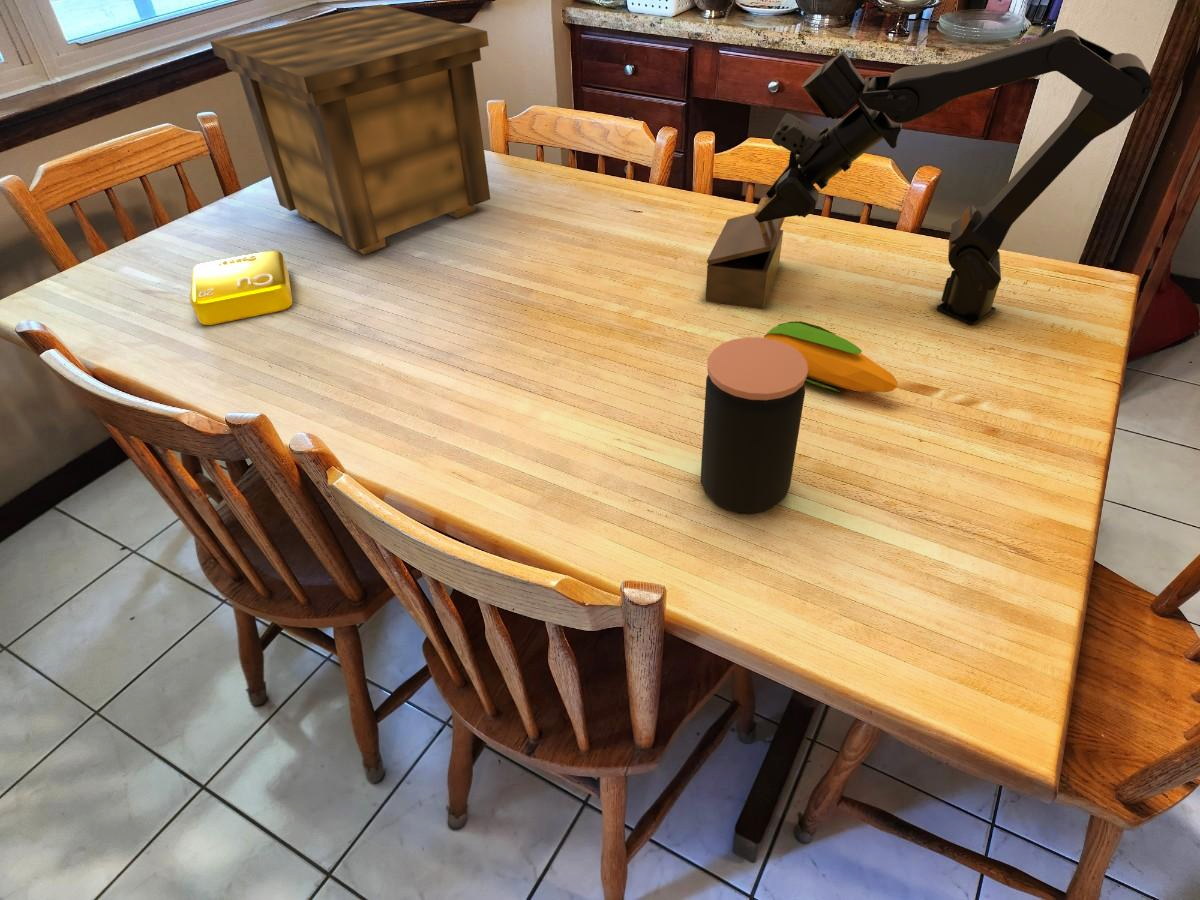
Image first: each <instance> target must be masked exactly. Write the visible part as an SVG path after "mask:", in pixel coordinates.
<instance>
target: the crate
mask: <svg viewBox="0 0 1200 900" xmlns="http://www.w3.org/2000/svg"><path fill="white" fill-rule="evenodd" d="M488 36H489V35H488V31H487V30H484V29H480V28H476V27H472V26H469V25H464V24H461V23H456V22H453V21H448V20H444V19H441V18H436V17H433V16H430V15H429V16H428V15H425V14H421V13H417V12H413V11H410V10H409V11H408V10H404V9H401V8H397V7H393V6H389V5H385V4H377V5H371V6H367V7H362V8H358V9H352V10H348V11H343V12H339V13H334V14H329V15H325V16H320V17H315V18H311V19H306V20H302V21H296V22H291V23H287V24H282V25H278V26H274V27H269V28H264V29H260V30H254V31H250V32H246V33H241V34H236V35H231V36H226V37H223V38H222V37H221V38H218V39H213V40H210V41H209V42H210V45H211V49H212V51H213V55H214V56H215V57H218V58H220V59H222V60H225V63H226V66H227V69H228V70H229V71H232V72H235V73H237V74H238V76H239V80H240V83H241V86H242V89H243V92H244V95H245V98H246V101H247V104H248V108H249V111H250V113H251V118H252V120H253V124H254V128H255V130H256V133H257V137H258V139H259V143H260V146H261V149H262V152H263V156H264V159H265V162H266V165H267V169H268V172H269V175H270V178H271V182H272V185H273V187H274V191H275V195H276V198H277V201H278V203H279V206H281V207H283V208H284V209H286V210H288V211H289V212H292V211H295V210H296V211H297V214H298V215H299V216H300V217H301V218H302V219H304V220H306V221H308V222H309V223H311V222H314V221H315V222H317V223H318V224H320V225H322V226H323V227H324V228H327V229H328V230H330V231H331V232H333V233H334V234H336V235H338V236H340V237H341V238H342V241H343V244H344V245H346V246H347V247H348V248H351V249H352V250H354V251H356V252H359V253H361V255H364V256H365V255H367V254H369V253H372V252H376V251H378V250H380V249H383V248H384V247H387V244H386V239H385V238H386V237H388V236H392V235H394V234H396V233H400V232H402V231H404V230H406V229H407V230H408V229H409V228H412V227H415V226H418V225H420V224H423V223H425V222H429V221H430V220H433V219H436V218H438V217H440V216H443V215H445V214H447V215H449V216H451V217H453V218H455V219H458V218H462V217H464V216H466V215H469V214H471V213H474V212H476V211H477V210H476V206H477V205H479V204H482V203H484V202H487V201H490V200H491V193H490V186H489V178H488V171H487V170H488V169H487V163H486V156H485V148H484V140H483V133H482V124H481V117H480V110H479V103H478V102H479V101H478V95H477V87H476V79H475V71H474V65H473V63H476V62H480V61H482V56H481V49H482V48H485V47H489V46H490V44H489V37H488Z"/></svg>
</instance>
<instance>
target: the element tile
mask: <svg viewBox="0 0 1200 900" xmlns="http://www.w3.org/2000/svg"><path fill="white" fill-rule="evenodd" d="M289 273H290V272H289V269H288V267H287V264H286V261H285V258H284V256H283V253H282V252H281V251H279V250H269V251H262V252H258V253H251V254H247V255H241V256H237V257H231V258H226V259H225V258H224V259H219V260H215V261H210V262H204V263H200V264H197V265H195V266H194V268H192V271H191V284H190V298H189V300H190V301H189V302H190V304H191V306H192V308H193V311H194V313H195V315H196V318H197V320H198V322H199V323H200V324H201V325H204V326H213V325H218V324H223V323H227V322H232V321H237V320H238V321H239V320H244V319H248V318H252V317H257V316H262V315H263V316H264V315H268V314H272V313H277V312H282V311H285V310H287V309H289V308H290V307H291V306H292V305H293V295H292V289H291V281H290V274H289Z"/></svg>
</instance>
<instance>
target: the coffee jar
mask: <svg viewBox="0 0 1200 900" xmlns="http://www.w3.org/2000/svg"><path fill="white" fill-rule="evenodd" d="M706 369H707V375H706V379H705V396H704V412H703V429H702V447H701V462H700V481H699V482H700V484H701V486H702V489H703V491H704V493H705V494H706V495H707V496H708V498H710V500H711V501H712V502H713V503H714V504H715V505H717V506H719V507H720V508H722V509H724V510H726V511H728V512H732V513H736V514H741V515H743V514H744V515H754V514H761V513H764V512H766V511H768V510H771V509H772V508H775V507H776V506H777V505H778V504H779V503H781V501H783V500H784V499H785V497H786V496H787V495H788V492H789V490H790V488H791V483H792V477H793V470H794V464H795V458H796V451H797V446H798V438H799V435H800V428H801V427H800V426H801V420H802V414H803V409H804V401H805V396H806V387H805V386H806V385H805V382H806V381H805V380H806V378H807V379H808V377H807V375H808V365H807V361H806V359H805V358H804V357H803V355H802V354H801V353H800V352H799V351H797V350H796V349H795V348H793V347H792V346H790V345H788V344H785V343H783V342H780V341H778V340H773V339H768V338H764V337H758V336H756V337H755V336H748V337H747V336H746V337H740V338H734V339H731V340H728V341H725V342H723V343H721V344H719V345H717V347H715V348H714V349H712V350H711V352H710V353H709V355H708V357H707V366H706Z"/></svg>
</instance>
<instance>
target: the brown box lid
mask: <svg viewBox="0 0 1200 900" xmlns="http://www.w3.org/2000/svg"><path fill="white" fill-rule="evenodd" d="M769 201H770V198H769V197H768V196H763V197H762V198H760V200H759V202H758V204H757V207H756V209H755V211H754V212H751V213H748V214H743V215H739V216H736V217H732V218H728V219H727V220H726V221H725V222H726V223H725V224H724V227H723V228H722V230H721V232H720V234H719V236H718V237H717V240H716V242H715V244H714V246H713V248H712V250H711V252H710V253H709V256H708V257H707V259H706V263H707V266H708V265H711V264H715V263H720V262H724V261H728V260H733V259H737V258H741V257H746V256H750V255H755V254H759V253H763V252H768V251H772V249H773V247H774V244H775V242H776V239H777V237H778V234H779V231H780V230H782V226H783V224H784V221H785V219H786V217H785V218H779V219H775V220H770V221H765V222H760V223H759V222H758V221H757V220H756V219H755V217H756V215H757V214H758V213H759V212H760V211H761V210H762V208H763V207H764V206H765V205H766V204H767V203H768V202H769Z"/></svg>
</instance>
